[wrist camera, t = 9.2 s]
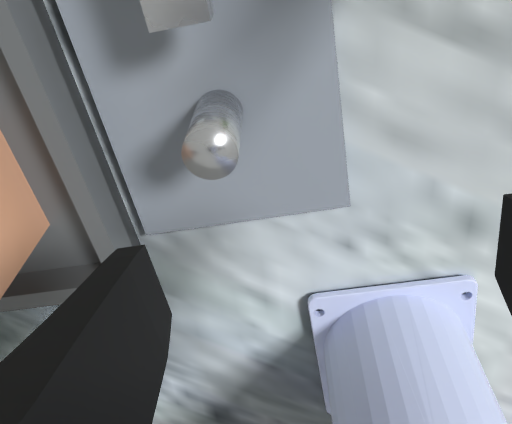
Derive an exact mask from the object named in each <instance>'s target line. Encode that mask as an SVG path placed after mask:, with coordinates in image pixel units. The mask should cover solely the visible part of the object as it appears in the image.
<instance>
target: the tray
mask: <svg viewBox="0 0 512 424" xmlns="http://www.w3.org/2000/svg"><path fill="white" fill-rule="evenodd" d="M0 130H1V132H2V134H3V136H4V138H5V139H6V141H7V143H8V145H9V147H10V149H11V151H12V153H13V155H14V157H15V159H16V161H17V162H18V164H19V166H20V168H21V170H22V172H23V174H24V176H25V178H26V180H27V182H28V183H29V185H30V187H31V189H32V191H33V193H34V195H35V197H36V199H37V201H38V203H39V205H40V206H41V208H42V210H43V212H44V214H45V216H46V218H47V220H48V222H49V224H50V225H49V227H48V228H47V230H46V231H45V233H44V234H43V236H42V238H41V239H40V241H39V242H38V244H37V245H36V247H35V248H34V250H33V251H32V253H31V254H30V256H29V257H28V259H27V260H26V262H25V263H24V265H23V266H22V268H21V269H20V271H19V272H18V274H17V275H16V277H15V278H14V280H13V281H12V283H11V284H10V286H9V287H8V289H7V290H6V292H5V293H4V295H3V296H2V298H1V299H0V312H4V311H12V310H20V309H28V308H36V307H44V306H52V305H59V304H62V303H63V302H64V301H65V300H66V299H67V298H68V297H69V296H70V295H71V294H72V293H73V292H74V291H75V290H76V289H77V288H78V287H79V286H80V285H81V284H82V283H83V282H84V281H85V280H86V279H87V278H88V277H89V276H90V275H91V273H92V272H93V271H94V270H95V269H96V268H97V267H98V266H99V265H100V264H101V263H102V262H103V261H104V260H105V259H106V258H107V257H108V256H109V255H111V254H112V253H113V252H114V251H115V250H116V249H117V248H124V247H131V246H139V245H140V243H139V240H138V238H137V235H136V233H135V230H134V228H133V225H132V223H131V220H130V218H129V215H128V213H127V210H126V208H125V205H124V203H123V200H122V198H121V195H120V193H119V190H118V188H117V185H116V183H115V180H114V178H113V175H112V173H111V170H110V168H109V165H108V163H107V160H106V158H105V155H104V153H103V150H102V148H101V145H100V143H99V140H98V138H97V135H96V133H95V130H94V128H93V125H92V123H91V120H90V118H89V115H88V113H87V110H86V108H85V105H84V103H83V100H82V98H81V95H80V93H79V90H78V88H77V85H76V83H75V80H74V78H73V75H72V73H71V70H70V68H69V65H68V63H67V60H66V58H65V55H64V53H63V50H62V48H61V45H60V43H59V40H58V38H57V35H56V32H55V30H54V27H53V25H52V22H51V20H50V17H49V15H48V12H47V10H46V7H45V5H44V2H43V0H0Z"/></svg>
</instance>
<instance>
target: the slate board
mask: <svg viewBox="0 0 512 424" xmlns="http://www.w3.org/2000/svg"><path fill="white" fill-rule="evenodd" d="M55 1H56V3H57V6H58V8H59V11H60V14H61V16H62V19H63V21H64V24H65V27H66V29H67V32H68V34H69V37H70V39H71V42H72V45H73V47H74V50H75V52H76V55H77V58H78V60H79V63H80V65H81V68H82V71H83V73H84V76H85V78H86V81H87V83H88V86H89V89H90V91H91V94H92V96H93V99H94V102H95V104H96V107H97V109H98V112H99V115H100V117H101V120H102V122H103V125H104V128H105V130H106V133H107V135H108V138H109V140H110V143H111V146H112V148H113V151H114V153H115V156H116V159H117V161H118V164H119V166H120V169H121V172H122V174H123V177H124V179H125V182H126V184H127V187H128V190H129V192H130V195H131V197H132V200H133V203H134V205H135V208H136V210H137V213H138V216H139V218H140V221H141V223H142V226H143V229H144V231H145V234H146V235H151V234H158V233H165V232H172V231H179V230H186V229H193V228H200V227H207V226H214V225H222V224H229V223H236V222H243V221H250V220H257V219H264V218H271V217H278V216H285V215H292V214H299V213H306V212H313V211H320V210H327V209H334V208H341V207H349V206H351V205H350V194H349V183H348V173H347V162H346V152H345V141H344V131H343V120H342V109H341V99H340V88H339V78H338V67H337V57H336V46H335V36H334V25H333V14H332V4H331V0H211V1H212V5H213V10H214V16H213V18H212V20H211V21H209V22H203V23H198V24H193V25H188V26H183V27H178V28H173V29H168V30H162V31H157V32H152V33H149V31H148V27H147V24H146V21H145V17H144V14H143V11H142V7H141V4H140V0H55ZM212 90H225V91H228V92H230V93H232V94H233V95H235V96H236V97H237V98H238V99H239V101H240V102H241V104H242V107H243V123H242V132H241V140H240V149H239V157H238V162H237V165H236V167H235V169H234V170H233V171H232V172H231V173H230V174H229V175H227V176H226V177H224V178H221V179H217V180H206V179H202V178H199V177H197V176H195V175H194V174H192V173H191V172H190V171H189V170H188V169H187V168H186V166H185V164H184V163H183V160H182V155H181V150H182V145H183V142H184V140H185V137H186V134H187V131H188V128H189V125H190V122H191V119H192V117H193V114H194V111H195V108H196V105H197V102H198V101H199V99H200V98H201V97H202V96H203V95H204V94H205V93H207V92H209V91H212Z"/></svg>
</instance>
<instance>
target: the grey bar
mask: <svg viewBox="0 0 512 424" xmlns="http://www.w3.org/2000/svg"><path fill="white" fill-rule="evenodd" d="M140 4H141V7H142V11H143V14H144V17H145V21H146V24H147V27H148V31H149V33H152V32H157V31H162V30H168V29H173V28H178V27H183V26H188V25H193V24H198V23H203V22H209V21H211V20H212V18H213V16H214V10H213V5H212V1H211V0H140ZM242 123H243V107H242V104H241V102H240V101H239V99H238V98H237V97H236V96H235V95H233V94H232V93H230V92H228V91H225V90H212V91H209V92H207V93H205V94H204V95H203V96H202V97H201V98H200V99H199V101H198V102H197V105H196V108H195V111H194V114H193V117H192V119H191V122H190V125H189V128H188V131H187V134H186V137H185V140H184V142H183V145H182V150H181V155H182V160H183V163H184V164H185V166H186V168H187V169H188V170H189V171H190V172H191V173H192V174H194V175H195V176H197V177H199V178H202V179H206V180H217V179H221V178H224V177H226V176H227V175H229V174H230V173H231V172H232V171H233V170H234V169H235V167H236V165H237V162H238V157H239V149H240V140H241V132H242Z"/></svg>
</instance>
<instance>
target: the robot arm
mask: <svg viewBox="0 0 512 424" xmlns="http://www.w3.org/2000/svg"><path fill="white" fill-rule="evenodd" d="M495 277H496V280H497V282H498V285H499V287H500V290H501V292H502V295H503V297H504V299H505V302H506V304H507V306H508V308H509V311H510V313H511V315H512V194H505V195H503V204H502V213H501V222H500V231H499V241H498V250H497V259H496V268H495ZM477 290H478V285H477V282H476V280H475V278H474V277H472V276H470V275H463V276H455V277H447V278H438V279H430V280H422V281H413V282H405V283H397V284H389V285H380V286H372V287H364V288H356V289H347V290H339V291H331V292H323V293H315V294H312V295H311V296H309V298H308V310H309V315H310V321H311V327H312V332H313V338H314V344H315V349H316V355H317V361H318V366H319V372H320V378H321V384H322V389H323V395H324V401H325V406H326V411H327V413H329V414H331V418H332V424H508V423H507V421H506V419H505V417H504V415H503V412H502V410H501V408H500V406H499V403H498V401H497V399H496V397H495V395H494V392H493V390H492V388H491V386H490V383H489V381H488V379H487V377H486V375H485V372H484V370H483V368H482V366H481V363H480V361H479V359H478V357H477V355H476V352H475V350H474V348H473V336H474V325H475V313H476V301H477ZM465 292H468V293H466V294H463V293H465ZM317 309H322V310H321V311H316V310H317ZM171 319H172V313H171V310H170V308H169V305H168V303H167V300H166V298H165V295H164V293H163V290H162V288H161V285H160V282H159V280H158V277H157V275H156V272H155V270H154V267H153V265H152V262H151V260H150V257H149V255H148V252H147V249H146V247H145V245H139V246H131V247H124V248H117V249H116V250H115V251H114V252H113V253H112V254H111V255H109V256H108V257H107V258H106V259H105V260H104V261H103V262H102V263H101V264H100V265H99V266H98V267H97V268H96V269H95V270H94V271H93V272H92V273H91V275H90V276H89V277H88V278H87V279H86V280H85V281H84V282H83V283H82V284H81V285H80V286H79V287H78V288H77V289H76V290H75V291H74V292H73V293H72V294H71V295H70V296H69V297H68V298H67V299H66V300H65V301H64V302H63V303H62V304H61V305H60V306H59V307H58V308H57V309H56V310H55V311H54V312H53V313H52V314H51V315H50V316H49V317H48V318H47V319H46V320H45V321H44V322H43V323H42V324H41V325H40V326H39V327H38V328H37V329H36V330H35V331H34V332H33V333H31V334H30V335H29V336H28V337H27V338H26V339H25V340H24V341H23V342H22V343H21V344H20V345H19V346H18V347H17V348H16V349H14V350H13V351H12V352H11V353H10V354H9V355H8V356H7V357H6V358H5V359H4V360H3V361H1V362H0V424H152V421H153V417H154V413H155V409H156V405H157V401H158V396H159V392H160V388H161V384H162V380H163V375H164V371H165V367H166V362H167V358H168V349H169V341H170V331H171Z"/></svg>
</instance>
